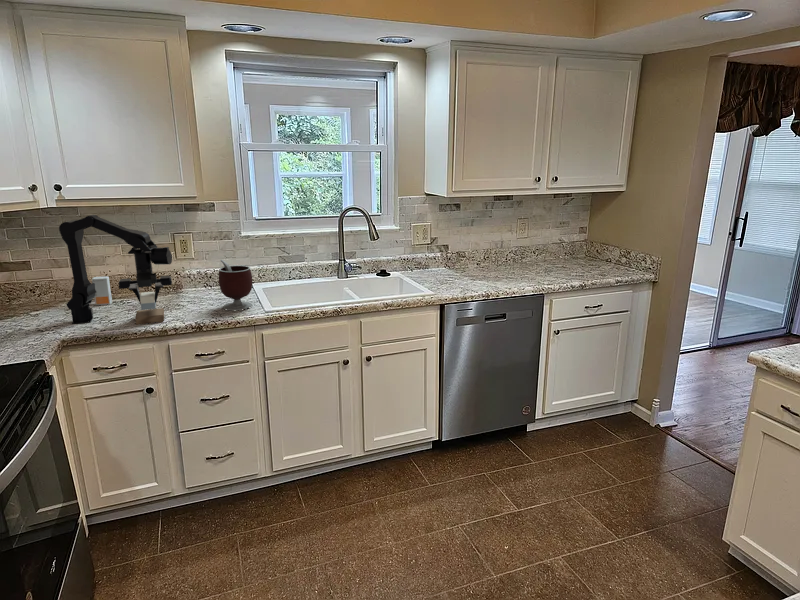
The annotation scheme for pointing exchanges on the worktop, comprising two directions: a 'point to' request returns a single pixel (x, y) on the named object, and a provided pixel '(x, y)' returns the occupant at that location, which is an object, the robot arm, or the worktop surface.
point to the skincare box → (102, 290)
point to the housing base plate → (148, 306)
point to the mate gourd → (235, 285)
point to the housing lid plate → (147, 297)
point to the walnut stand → (149, 316)
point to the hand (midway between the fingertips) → (148, 303)
